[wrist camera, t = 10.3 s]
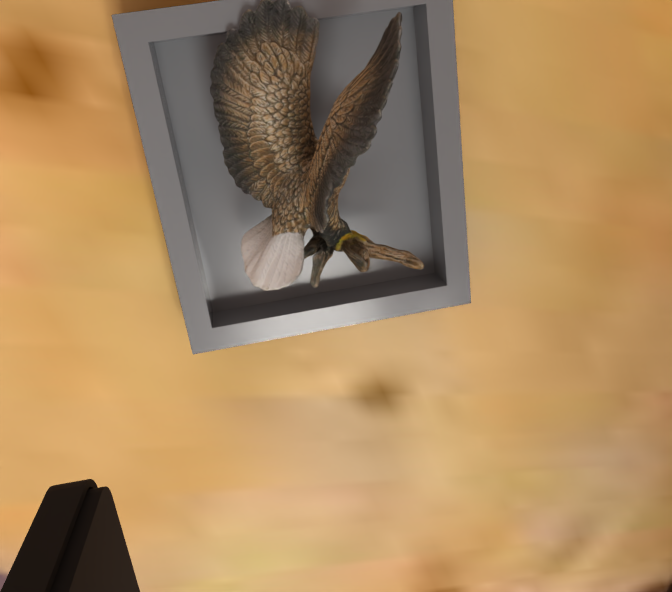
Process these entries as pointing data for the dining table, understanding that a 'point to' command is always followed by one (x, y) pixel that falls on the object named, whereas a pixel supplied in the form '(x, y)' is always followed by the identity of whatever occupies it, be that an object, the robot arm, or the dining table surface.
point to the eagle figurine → (296, 141)
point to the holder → (325, 86)
